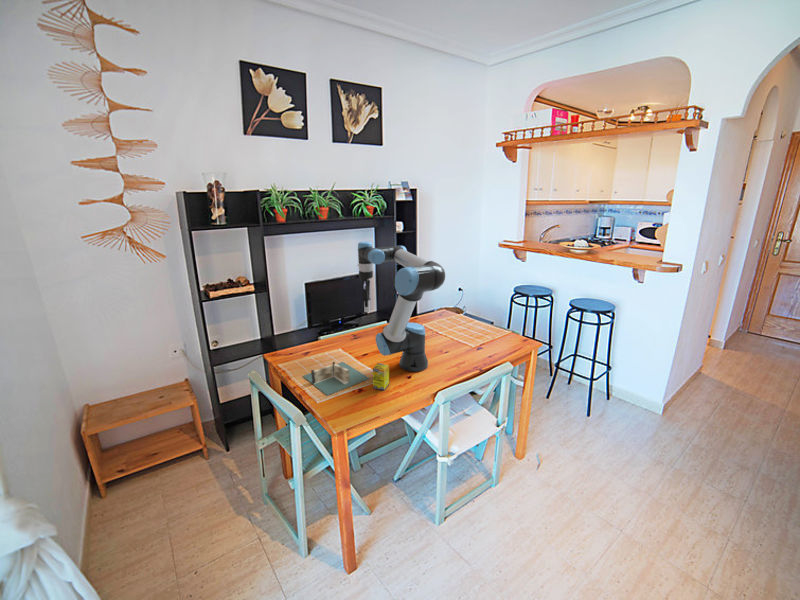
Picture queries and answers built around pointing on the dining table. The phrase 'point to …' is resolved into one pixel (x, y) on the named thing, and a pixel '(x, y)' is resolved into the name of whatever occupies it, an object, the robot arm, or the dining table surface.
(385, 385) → the supplement box
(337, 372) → the hinged gate
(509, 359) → the dining table surface
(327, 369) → the fixed rail
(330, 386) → the board
